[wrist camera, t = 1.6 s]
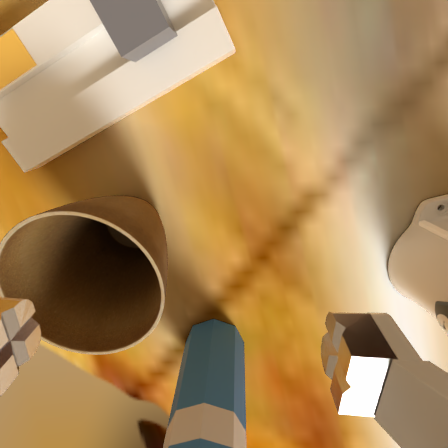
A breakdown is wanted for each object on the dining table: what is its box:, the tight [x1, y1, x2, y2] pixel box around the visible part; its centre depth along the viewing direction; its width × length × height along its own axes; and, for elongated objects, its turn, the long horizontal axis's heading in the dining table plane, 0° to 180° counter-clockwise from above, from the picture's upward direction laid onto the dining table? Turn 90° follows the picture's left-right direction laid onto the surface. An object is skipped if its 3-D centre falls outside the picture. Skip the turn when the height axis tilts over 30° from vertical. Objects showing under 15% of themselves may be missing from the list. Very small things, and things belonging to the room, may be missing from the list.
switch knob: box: [90, 0, 178, 62], centre depth 28 cm, size 5×5×6 cm
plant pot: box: [0, 196, 168, 355], centre depth 34 cm, size 15×15×16 cm
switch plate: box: [0, 0, 236, 173], centre depth 33 cm, size 28×12×3 cm, turn 117°
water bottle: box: [163, 319, 246, 448], centre depth 37 cm, size 9×9×25 cm
